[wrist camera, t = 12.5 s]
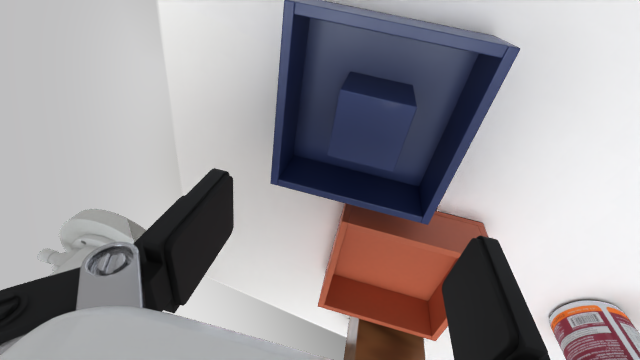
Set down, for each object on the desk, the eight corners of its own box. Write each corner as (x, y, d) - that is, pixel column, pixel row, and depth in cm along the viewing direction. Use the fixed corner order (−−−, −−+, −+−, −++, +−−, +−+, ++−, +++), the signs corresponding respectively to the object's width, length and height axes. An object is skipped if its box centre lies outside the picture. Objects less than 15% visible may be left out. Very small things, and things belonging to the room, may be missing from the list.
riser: (348, 320, 38) (336, 411, 30) (361, 289, 34) (351, 384, 26) (401, 335, 37) (403, 433, 29) (421, 306, 33) (429, 408, 25)
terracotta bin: (326, 270, 33) (317, 306, 30) (348, 188, 26) (341, 221, 23) (430, 300, 32) (435, 341, 29) (483, 222, 25) (498, 263, 22)
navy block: (337, 129, 23) (326, 155, 19) (349, 70, 20) (340, 89, 17) (393, 142, 22) (393, 172, 19) (413, 85, 20) (417, 106, 16)
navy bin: (288, 155, 26) (270, 183, 22) (305, -3, 19) (284, -1, 15) (423, 189, 25) (428, 225, 21) (494, 35, 18) (521, 48, 14)
